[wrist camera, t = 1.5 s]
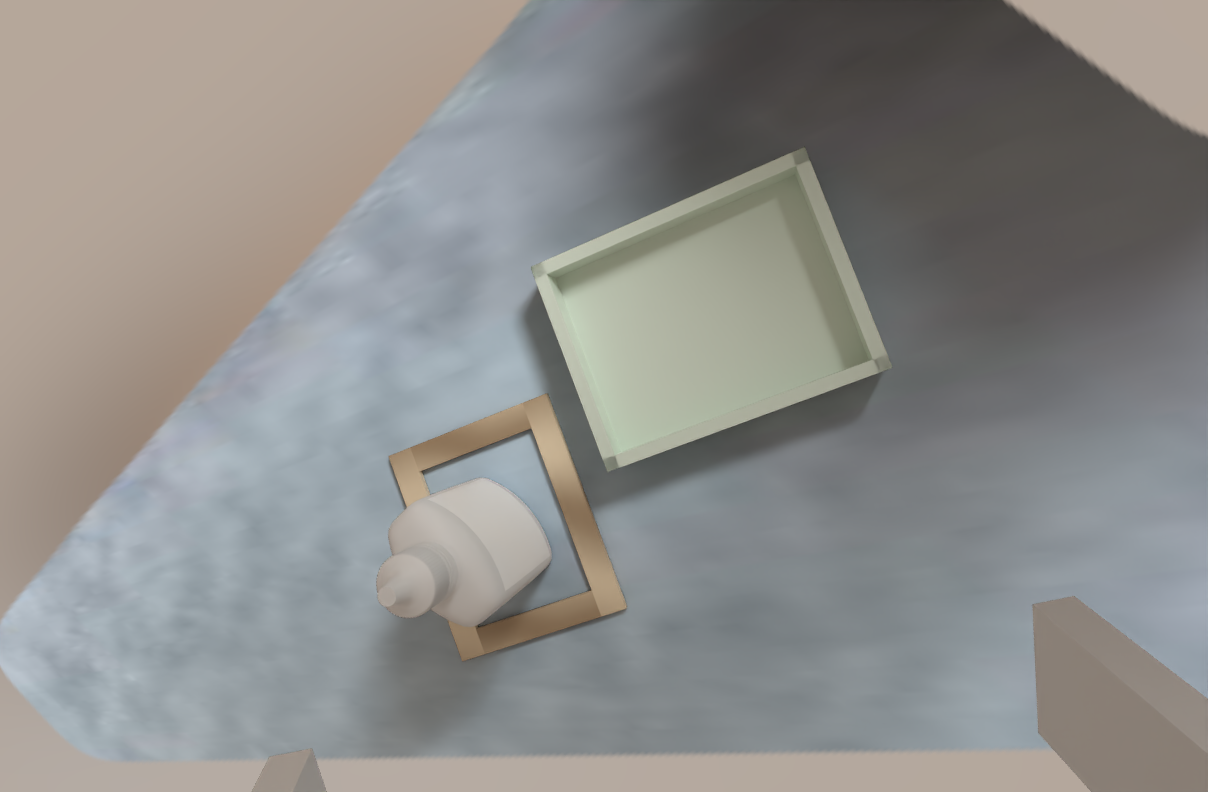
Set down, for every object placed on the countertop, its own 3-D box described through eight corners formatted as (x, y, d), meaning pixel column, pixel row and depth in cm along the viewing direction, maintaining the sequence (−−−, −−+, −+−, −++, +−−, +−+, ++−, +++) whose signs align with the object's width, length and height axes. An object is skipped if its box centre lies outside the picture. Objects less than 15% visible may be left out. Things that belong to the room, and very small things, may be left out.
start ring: (391, 455, 40) (388, 456, 39) (547, 393, 38) (546, 393, 37) (464, 659, 39) (462, 661, 39) (627, 606, 37) (625, 608, 37)
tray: (545, 273, 38) (530, 267, 35) (802, 161, 35) (804, 146, 32) (617, 466, 37) (607, 472, 35) (884, 368, 34) (892, 368, 32)
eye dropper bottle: (532, 464, 38) (424, 504, 26) (559, 575, 38) (462, 666, 26) (452, 483, 39) (313, 530, 27) (478, 591, 39) (350, 686, 27)
